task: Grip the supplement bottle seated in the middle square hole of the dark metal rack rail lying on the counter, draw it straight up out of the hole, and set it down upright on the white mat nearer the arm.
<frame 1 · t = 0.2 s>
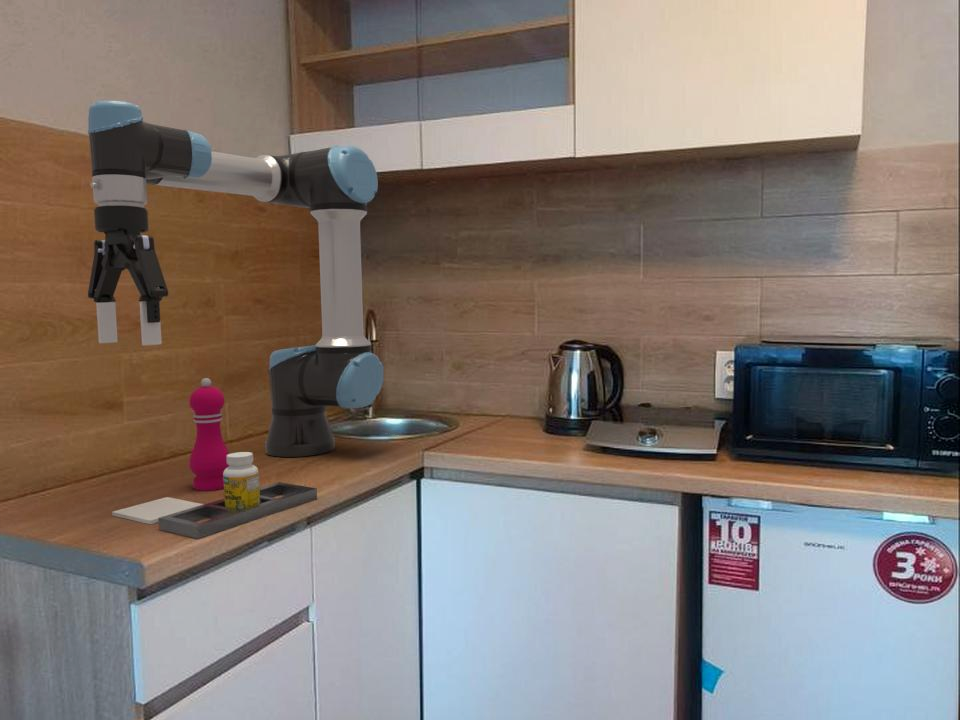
hand: (129, 344, 120), 27 cm above the worktop, fingers open, 13 cm apart
white mat: (159, 511, 124), on the worktop
supplement bottle: (243, 514, 122), resting in rack rail
pepper mill: (211, 487, 140), on the worktop
rack rail: (243, 513, 122), on the worktop
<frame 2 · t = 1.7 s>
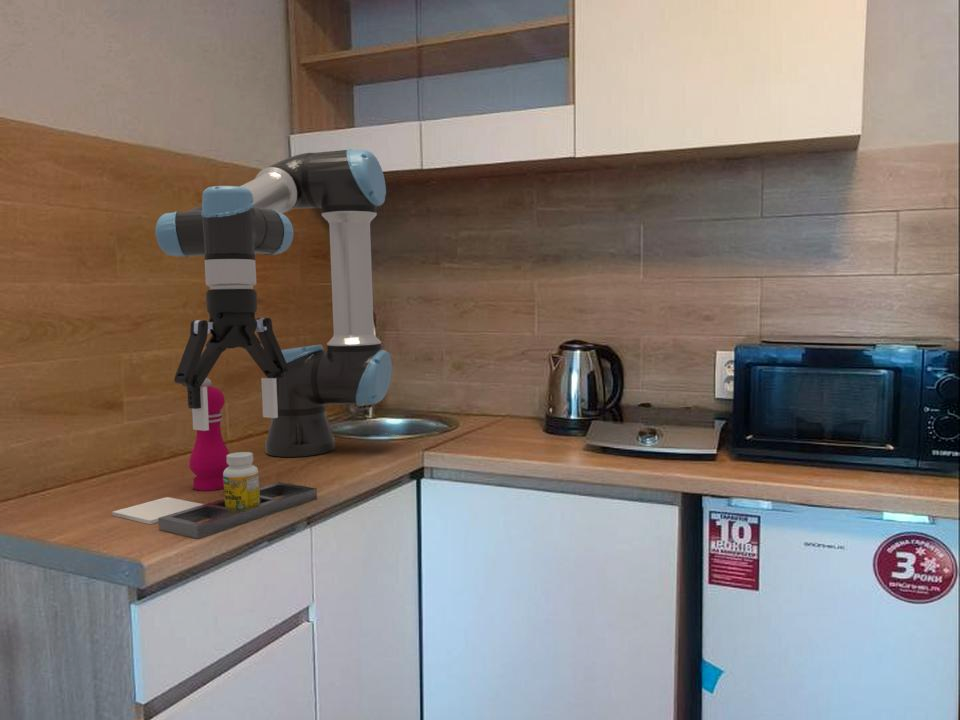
hand: (237, 423, 121), 15 cm above the worktop, fingers open, 13 cm apart
nothing on the worktop moved.
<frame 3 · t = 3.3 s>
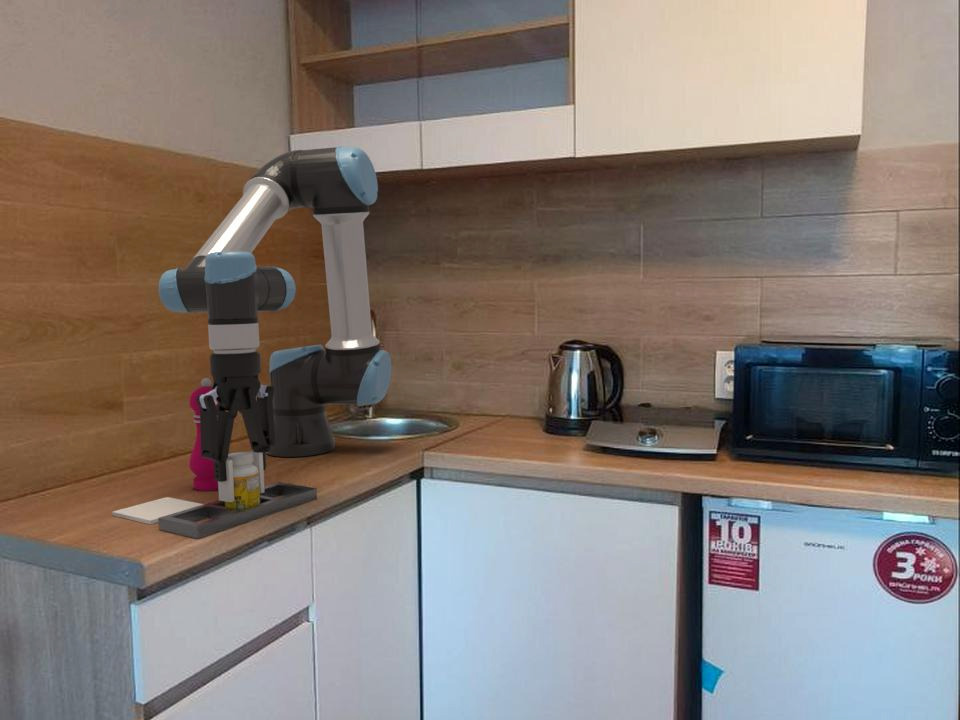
hand: (242, 495, 122), 3 cm above the worktop, fingers closed on supplement bottle, 5 cm apart
supplement bottle: (243, 514, 122), resting in rack rail, touching gripper
everything else where it was.
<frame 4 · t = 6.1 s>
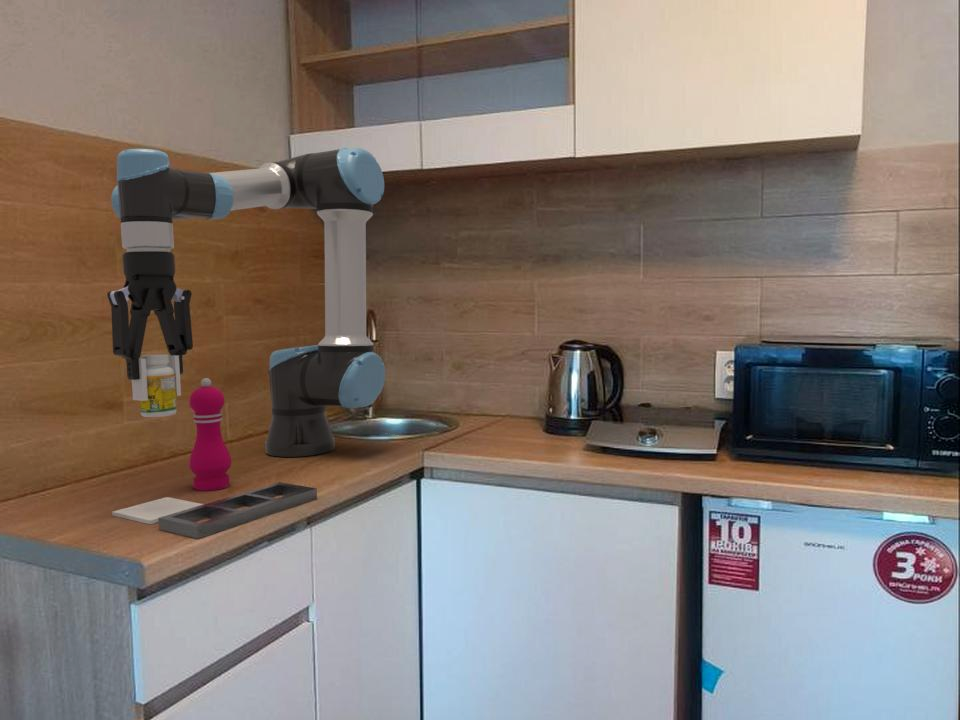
hand: (157, 397, 122), 19 cm above the worktop, fingers closed on supplement bottle, 5 cm apart
supplement bottle: (158, 416, 123), point 16 cm above the worktop, touching gripper
everything else where it was.
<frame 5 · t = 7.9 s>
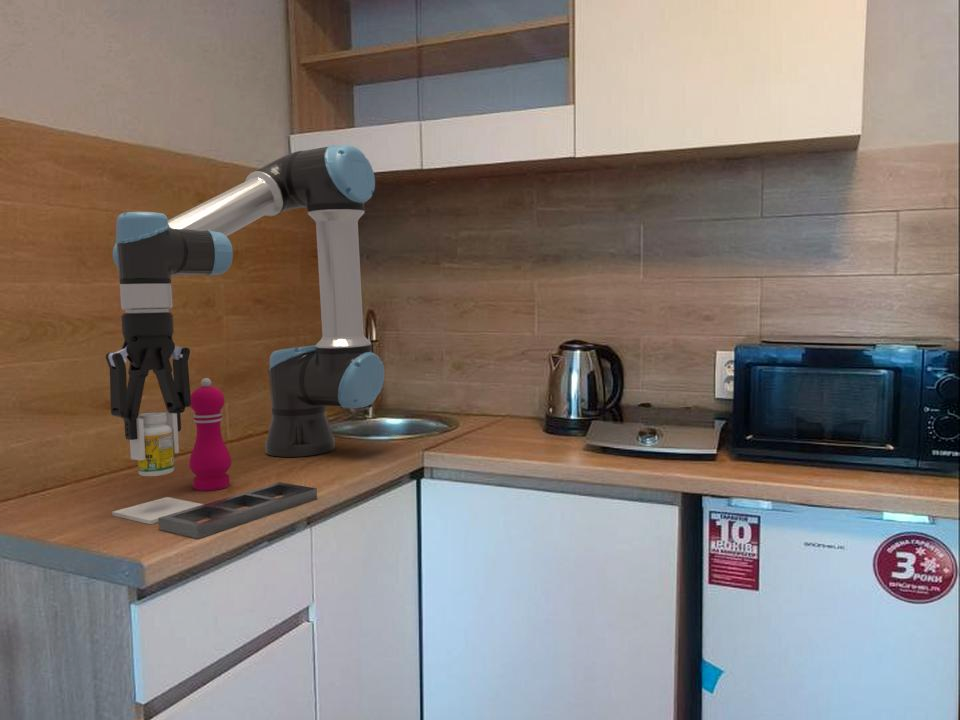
hand: (155, 455, 123), 9 cm above the worktop, fingers closed on supplement bottle, 5 cm apart
supplement bottle: (156, 474, 123), point 6 cm above the worktop, touching gripper
everything else where it was.
when the fingers open (5 cm above the worktop, at t = 9.1 s): supplement bottle drops 1 cm, resting on white mat.
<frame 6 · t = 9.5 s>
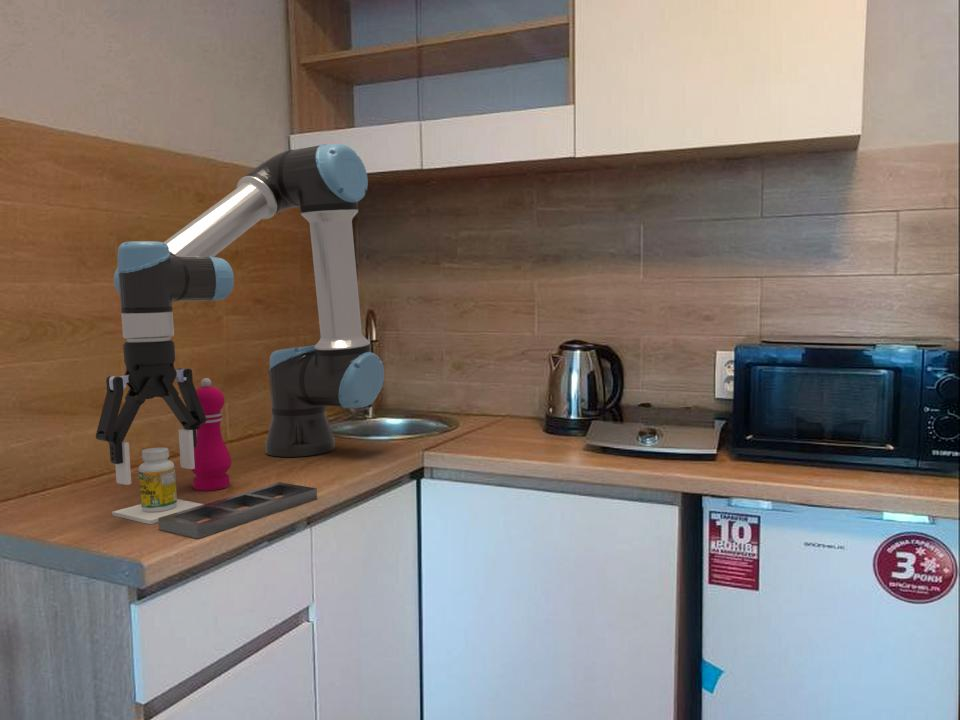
hand: (157, 475, 124), 6 cm above the worktop, fingers open, 11 cm apart
supplement bottle: (159, 509, 124), resting on white mat
everything else where it was.
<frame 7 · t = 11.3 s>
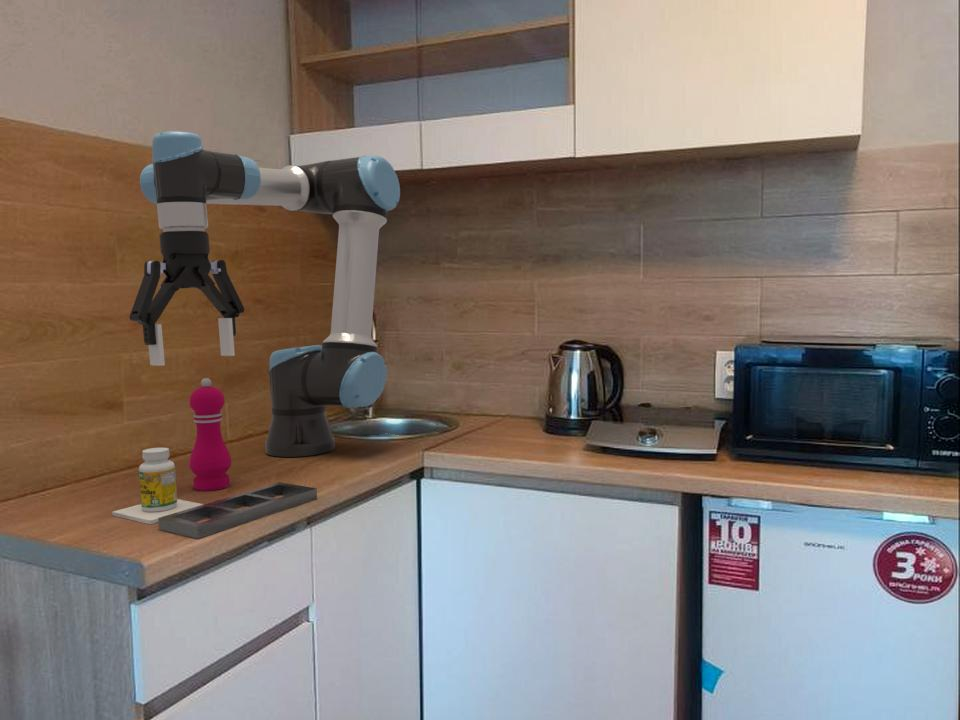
hand: (194, 360, 127), 24 cm above the worktop, fingers open, 13 cm apart
nothing on the worktop moved.
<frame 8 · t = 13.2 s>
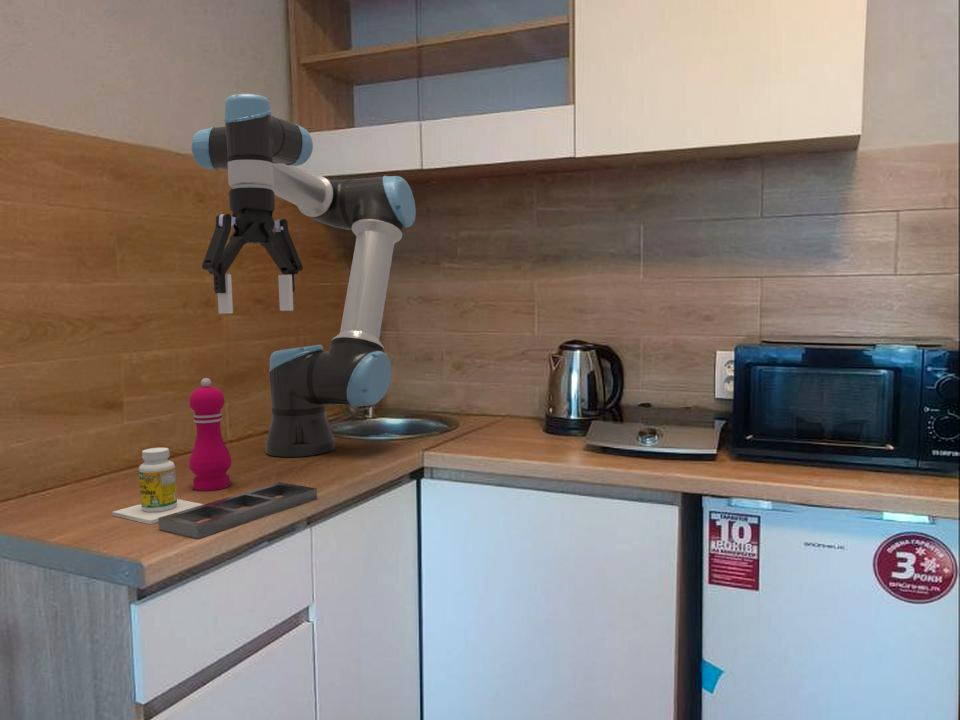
hand: (257, 312, 134), 32 cm above the worktop, fingers open, 13 cm apart
nothing on the worktop moved.
at the end: supplement bottle inside the target area on the white mat (0.0 cm from its centre), point 0.4 cm above the white mat's base; supplement bottle tilted 0°; the gripper is holding nothing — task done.
